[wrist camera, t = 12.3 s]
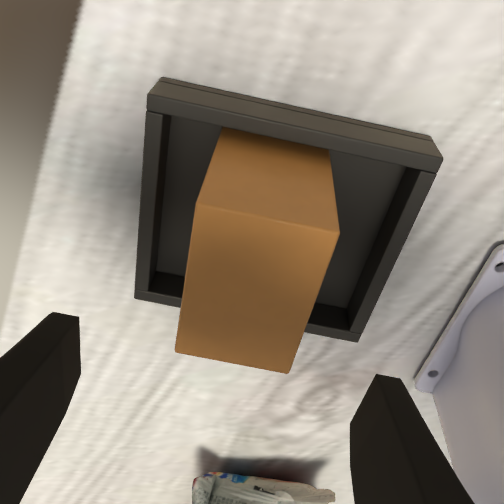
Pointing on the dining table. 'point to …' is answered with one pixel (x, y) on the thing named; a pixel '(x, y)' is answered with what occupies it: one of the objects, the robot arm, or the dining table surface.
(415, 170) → the tray
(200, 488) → the packaged food
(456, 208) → the dining table surface
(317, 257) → the packet
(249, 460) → the dining table surface
